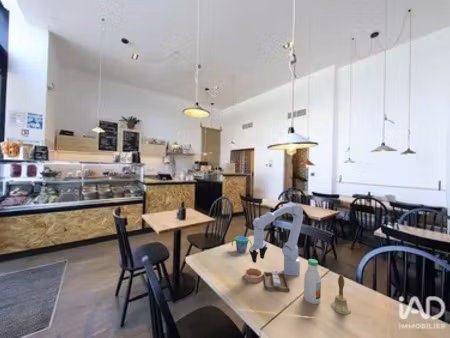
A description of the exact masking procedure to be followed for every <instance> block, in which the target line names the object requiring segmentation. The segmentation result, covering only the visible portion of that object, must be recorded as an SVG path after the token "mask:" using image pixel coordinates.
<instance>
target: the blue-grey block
mask: <svg viewBox="0 0 450 338" xmlns="http://www.w3.org/2000/svg"><path fill="white" fill-rule="evenodd" d="M271 272H272V275H278V273H279V272H278V271H277V270H276V271H275V270H271ZM272 275H271V277H272Z"/></svg>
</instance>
